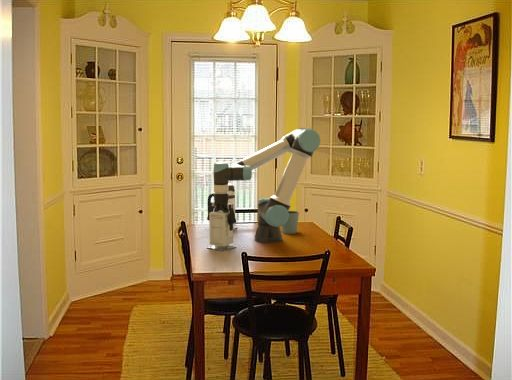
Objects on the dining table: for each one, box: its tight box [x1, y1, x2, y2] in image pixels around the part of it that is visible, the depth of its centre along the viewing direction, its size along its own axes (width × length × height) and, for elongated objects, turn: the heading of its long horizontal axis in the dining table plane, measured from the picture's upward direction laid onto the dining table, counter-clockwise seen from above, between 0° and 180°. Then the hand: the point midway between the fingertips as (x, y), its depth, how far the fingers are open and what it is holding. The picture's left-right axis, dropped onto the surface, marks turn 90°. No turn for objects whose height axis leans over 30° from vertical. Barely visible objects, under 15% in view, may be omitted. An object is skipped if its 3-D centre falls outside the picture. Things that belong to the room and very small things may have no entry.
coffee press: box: [207, 183, 238, 230], centre depth 352 cm, size 17×16×30 cm
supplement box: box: [208, 211, 234, 246], centre depth 304 cm, size 10×9×17 cm
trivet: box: [206, 244, 237, 252], centre depth 306 cm, size 11×11×1 cm
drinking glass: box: [281, 210, 300, 235], centre depth 344 cm, size 10×10×12 cm
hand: (221, 235), depth 305 cm, fingers closed on supplement box, 10 cm apart
